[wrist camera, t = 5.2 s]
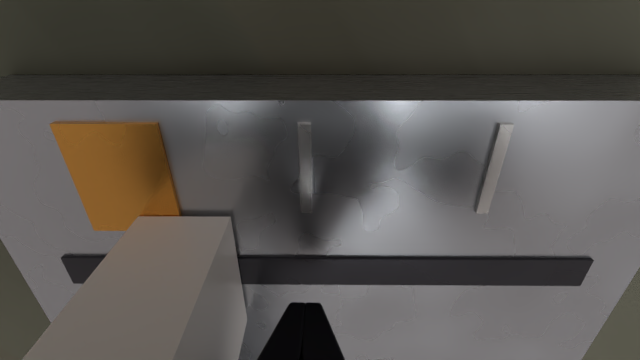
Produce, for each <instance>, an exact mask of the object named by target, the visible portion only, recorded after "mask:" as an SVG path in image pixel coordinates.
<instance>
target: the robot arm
mask: <svg viewBox="0 0 640 360" xmlns="http://www.w3.org/2000/svg"><path fill="white" fill-rule="evenodd" d="M257 360H345V358H344V356H343V354H342V351H341V349H340V346H339V344H338V342H337V339H336V337H335V335H334V332H333V330H332V328H331V325H330V323H329V321H328V318H327V316H326V314H325V311H324V309H323V306H322V305H321V303H318V302H307V303H304V302H291V303H290V304H289V305H288V306H287V308H286V310H285V311H284V313H283V315H282V317H281V318H280V320H279V322H278V324H277V325H276V327H275V329H274V330H273V332H272V334H271V336H270V337H269V339H268V341H267V343H266V344H265V346H264V348H263V350H262V351H261V353H260V355H259V356H258V358H257Z"/></svg>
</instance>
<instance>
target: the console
mask: <svg viewBox="0 0 640 360" xmlns="http://www.w3.org/2000/svg"><path fill="white" fill-rule="evenodd" d="M138 216H193V217H231V222H232V228H233V234H234V240H235V247H236V253H237V259H238V265H239V271H240V277H241V283H242V290H243V296H244V302H245V308H246V314H247V323H246V328H245V332H244V336H243V341H242V345H241V350H240V354H239V358H238V360H257V358H258V356H259V355H260V353H261V351H262V350H263V348H264V346H265V344H266V343H267V341H268V339H269V337H270V336H271V334H272V332H273V330H274V329H275V327H276V325H277V324H278V322H279V320H280V318H281V317H282V315H283V313H284V311H285V310H286V308H287V306H288V305H289V304H290V303H291V302H304V303H307V302H318V303H321V305H322V306H323V309H324V311H325V314H326V316H327V318H328V321H329V323H330V325H331V328H332V330H333V332H334V335H335V337H336V339H337V342H338V344H339V346H340V349H341V351H342V354H343V356H344V358H345V360H581V359H582V358H583V356H584V355H585V353H586V351H587V350H588V348H589V347H590V345H591V343H592V342H593V340H594V339H595V337H596V335H597V334H598V332H599V331H600V329H601V327H602V326H603V324H604V323H605V321H606V320H607V318H608V316H609V315H610V313H611V312H612V310H613V308H614V307H615V305H616V304H617V302H618V300H619V299H620V297H621V296H622V294H623V292H624V291H625V289H626V288H627V286H628V285H629V283H630V281H631V280H632V278H633V277H634V275H635V273H636V272H637V270H638V269H639V267H640V75H8V76H4V77H1V78H0V239H1V240H2V242H3V244H4V245H5V247H6V249H7V250H8V252H9V254H10V255H11V257H12V259H13V260H14V262H15V264H16V265H17V267H18V269H19V270H20V272H21V274H22V275H23V277H24V279H25V280H26V282H27V284H28V285H29V287H30V289H31V290H32V292H33V294H34V295H35V297H36V299H37V300H38V302H39V304H40V305H41V307H42V309H43V310H44V312H45V314H46V315H47V317H48V319H49V320H50V322H51V323H52V322H53V321H54V319H55V318H56V317H57V316H58V314H59V313H60V312H61V311H62V310H63V308H64V307H65V306H66V305H67V303H68V302H69V301H70V300H71V298H72V297H73V296H74V295H75V294H76V292H77V291H78V290H79V289H80V287H81V286H82V285H83V284H84V282H85V281H86V280H87V279H88V278H89V276H90V275H91V274H92V273H93V271H94V270H95V269H96V268H97V266H98V265H99V264H100V263H101V261H102V260H103V259H104V258H105V257H106V255H107V254H108V253H109V252H110V250H111V249H112V248H113V247H114V245H115V244H116V243H117V242H118V241H119V239H120V238H121V237H122V236H123V234H124V233H125V232H126V231H127V229H128V228H129V227H130V226H131V225H132V223H133V222H134V221H135V220H136V218H137V217H138Z"/></svg>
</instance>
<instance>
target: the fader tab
mask: <svg viewBox="0 0 640 360" xmlns="http://www.w3.org/2000/svg"><path fill="white" fill-rule="evenodd" d="M246 323H247V314H246V308H245V302H244V296H243V290H242V283H241V277H240V271H239V265H238V259H237V253H236V247H235V240H234V234H233V228H232V222H231V217H193V216H138V217H137V218H136V220H135V221H134V222H133V223H132V225H131V226H130V227H129V228H128V229H127V231H126V232H125V233H124V234H123V236H122V237H121V238H120V239H119V241H118V242H117V243H116V244H115V245H114V247H113V248H112V249H111V250H110V252H109V253H108V254H107V255H106V257H105V258H104V259H103V260H102V261H101V263H100V264H99V265H98V266H97V268H96V269H95V270H94V271H93V273H92V274H91V275H90V276H89V278H88V279H87V280H86V281H85V282H84V284H83V285H82V286H81V287H80V289H79V290H78V291H77V292H76V294H75V295H74V296H73V297H72V298H71V300H70V301H69V302H68V303H67V305H66V306H65V307H64V308H63V310H62V311H61V312H60V313H59V314H58V316H57V317H56V318H55V319H54V321H53V322H52V323H51V324H50V326H49V327H48V328H47V329H46V330H45V332H44V333H43V334H42V335H41V337H40V338H39V339H38V340H37V342H36V343H35V344H34V345H33V346H32V348H31V349H30V350H29V351H28V353H27V354H26V355H25V356H24V358H23V359H22V360H238V358H239V354H240V350H241V345H242V341H243V336H244V332H245V328H246Z"/></svg>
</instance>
